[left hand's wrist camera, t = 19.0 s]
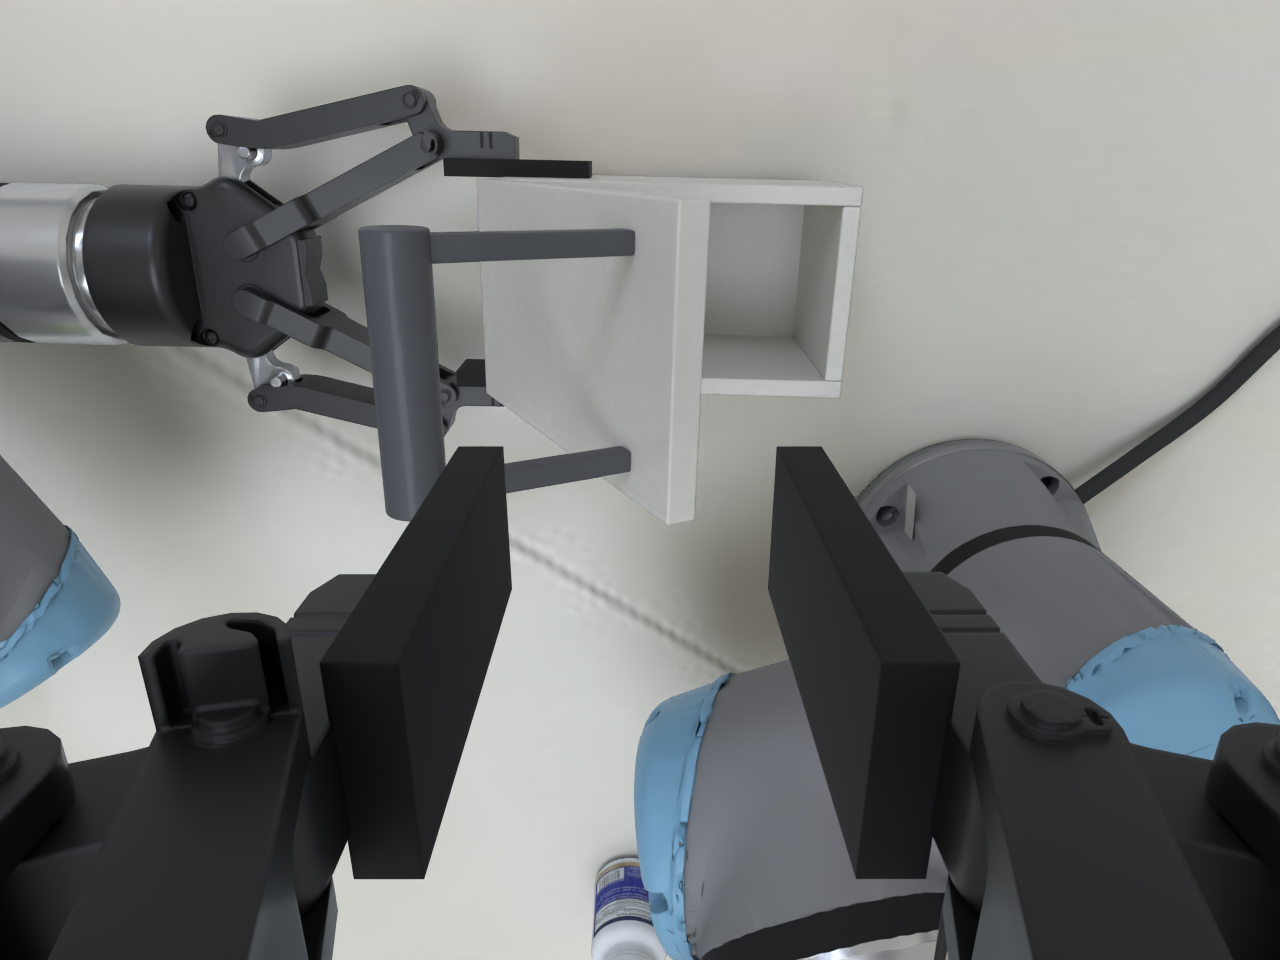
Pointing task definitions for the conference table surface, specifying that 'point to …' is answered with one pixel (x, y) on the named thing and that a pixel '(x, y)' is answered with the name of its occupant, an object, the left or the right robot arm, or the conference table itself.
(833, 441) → the conference table surface
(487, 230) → the lid
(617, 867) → the pill bottle
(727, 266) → the chest
